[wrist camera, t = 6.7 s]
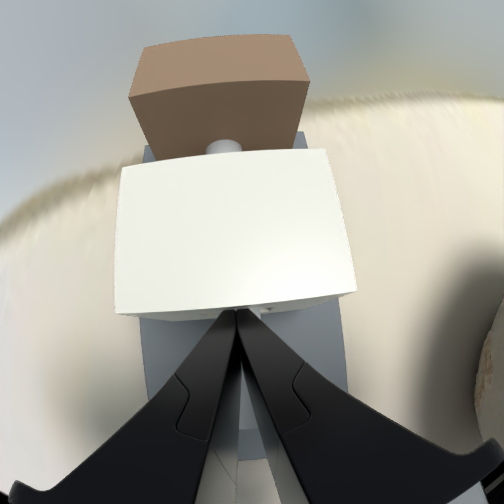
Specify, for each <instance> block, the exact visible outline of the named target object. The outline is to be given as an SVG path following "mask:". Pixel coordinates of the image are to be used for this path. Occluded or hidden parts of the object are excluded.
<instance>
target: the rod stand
mask: <svg viewBox="0 0 504 504" xmlns="http://www.w3.org/2000/svg"><path fill="white" fill-rule="evenodd" d="M309 83H310V80H309V77H308V75H307V73H306V70H305V68H304V66H303V63H302V61H301V59H300V56H299V54H298V52H297V50H296V48H295V45H294V43H293V41H292V39H291V37H290V35H270V34H255V35H254V34H253V35H229V36H215V37H204V38H196V39H189V40H182V41H176V42H170V43H165V44H159V45H154V46H149V47H146V48H144V49H143V52H142V55H141V58H140V61H139V64H138V67H137V70H136V73H135V76H134V79H133V83H132V86H131V89H130V93H129V96H128V98H129V100H130V102H131V105H132V107H133V110H134V112H135V114H136V117H137V119H138V121H139V123H140V126H141V128H142V130H143V132H144V135H145V137H146V139H147V141H148V144H149V145H146V146H145V150H144V158H143V164H144V163H150V162H156V161H162V160H169V159H176V158H183V157H191V156H200V155H209V154H219V153H230V152H243V151H258V150H279V149H308V147H307V143H306V140H305V136H304V132H297V129H298V126H299V122H300V118H301V114H302V110H303V107H304V103H305V99H306V95H307V91H308V87H309ZM251 311H252V312H253V313H254V314H255V315H256V316H257V317H258V318H260V319H261V320H262V321H263V322H264V323H265V324H266V325H267V326H268V327H269V328H270V329H271V330H272V331H273V332H274V333H276V334H277V335H278V336H279V337H280V338H281V339H282V340H283V341H284V342H285V343H286V344H287V345H288V346H290V347H291V348H292V349H293V350H294V351H295V352H296V353H297V354H298V355H299V356H301V357H302V358H303V359H304V360H305V361H306V362H308V363H309V364H310V365H311V366H312V367H313V368H315V369H316V370H317V371H318V372H319V373H321V374H322V375H323V376H324V377H325V378H327V379H328V380H329V381H331V382H332V383H334V384H335V385H337V386H338V387H339V388H341V389H342V390H344V391H345V392H347V393H348V386H347V372H346V361H345V351H344V341H343V332H342V324H341V316H340V308H339V301H338V298H336V299H333V300H330V301H327V302H324V303H321V304H318V305H315V306H312V307H309V308H306V309H299V310H292V311H284V312H275V313H267V314H260V309H251ZM220 313H221V312H219V313H215V316H216V318H217V317H218V316H219V315H220ZM139 318H140V332H141V344H142V354H143V363H144V371H145V379H146V386H147V393H148V400H150V399H151V398H152V397H153V396H154V395H155V394H156V393H157V392H158V391H159V389H160V388H161V387H162V386H163V385H164V384H165V382H166V381H167V380H168V379H169V377H170V376H171V375H172V374H173V373H174V372H175V370H176V369H177V368H178V367H179V365H180V364H181V363H182V362H183V360H184V359H185V358H186V357H187V355H188V354H189V353H190V352H191V350H192V349H193V348H194V346H195V345H196V344H197V343H198V341H199V340H200V339H201V338H202V336H203V335H204V334H205V333H206V331H207V330H208V329H209V327H210V326H211V325H212V324H213V322H214V321H215V320H216V318H215V319H201V320H186V321H166V320H158V319H150V318H142V317H139ZM241 364H242V363H241ZM263 458H267V455H266V452H265V449H264V446H263V442H262V439H261V435H260V432H259V429H258V425H257V422H256V418H255V415H254V411H253V408H252V404H251V400H250V397H249V393H248V389H247V386H246V382H245V378H244V374H243V370H242V381H241V400H240V419H239V439H238V459H237V461H242V460H253V459H263Z"/></svg>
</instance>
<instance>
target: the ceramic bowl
mask: <svg viewBox="0 0 504 504" xmlns="http://www.w3.org/2000/svg"><path fill="white" fill-rule="evenodd" d="M474 396H475V403H474V405H475V410H476V414H477V419H478V425H479V430H480V434H481V437H482V440H483V443H484V442H485V441H487V440H488V439H490V438H495V439H496V440H497V442H498V443H499V444H500V445H501V447H502V448H503V450H504V297H503V299H502V302H501V304H500V306H499V308H498V311H497V313H496V315H495V318H494V321H493V324H492V326H491V329H490V331H489V332H488V334H487V337H486V339H485V342H484V345H483V348H482V351H481V356H480V361H479V367H478V372H477V373H476V385H475V392H474Z"/></svg>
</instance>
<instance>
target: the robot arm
mask: <svg viewBox="0 0 504 504" xmlns="http://www.w3.org/2000/svg"><path fill="white" fill-rule="evenodd" d="M241 363H242V364H241ZM242 370H243V374H244V378H245V382H246V386H247V389H248V393H249V397H250V400H251V404H252V408H253V411H254V415H255V418H256V422H257V425H258V429H259V432H260V435H261V439H262V442H263V446H264V449H265V452H266V455H267V459H268V462H269V465H270V468H271V472H272V475H273V478H274V481H275V484H276V487H277V491H278V494H279V497H280V501H281V504H504V450H503V448H502V447H501V445H500V444H499V443H498V442H497V440H496V439H495V438H490V439H488V440H487V441H485V442H484V443H483V444H481V445H480V446H479V447H477V448H476V449H475V450H473V451H472V452H470V453H468V454H463V455H460V454H454V453H451V452H449V451H447V450H445V449H443V448H441V447H440V446H438V445H436V444H434V443H432V442H430V441H428V440H426V439H424V438H423V437H421V436H419V435H417V434H415V433H414V432H412V431H410V430H408V429H406V428H405V427H403V426H401V425H399V424H398V423H396V422H394V421H393V420H391V419H389V418H388V417H386V416H384V415H382V414H381V413H379V412H377V411H376V410H374V409H373V408H371V407H369V406H368V405H366V404H364V403H363V402H361V401H360V400H358V399H356V398H355V397H353V396H352V395H350V394H349V393H347V392H345V391H344V390H342V389H341V388H339V387H338V386H337V385H335V384H334V383H332V382H331V381H329V380H328V379H327V378H325V377H324V376H323V375H322V374H321V373H319V372H318V371H317V370H316V369H315V368H313V367H312V366H311V365H310V364H309V363H308V362H306V361H305V360H304V359H303V358H302V357H301V356H299V355H298V354H297V353H296V352H295V351H294V350H293V349H292V348H291V347H290V346H288V345H287V344H286V343H285V342H284V341H283V340H282V339H281V338H280V337H279V336H278V335H277V334H276V333H274V332H273V331H272V330H271V329H270V328H269V327H268V326H267V325H266V324H265V323H264V322H263V321H262V320H261V319H260V318H258V317H257V316H256V315H255V314H254V313H253V312H252V311H251V310H250V309H249V308H241V309H237V310H236V311H235V310H234V309H231V310H223V311H222V312H221V313H220V315H219V316H218V317H217V318H216V320H215V321H214V322H213V324H212V325H211V326H210V327H209V329H208V330H207V331H206V333H205V334H204V335H203V336H202V338H201V339H200V340H199V341H198V343H197V344H196V345H195V346H194V348H193V349H192V350H191V352H190V353H189V354H188V355H187V357H186V358H185V359H184V360H183V362H182V363H181V364H180V365H179V367H178V368H177V369H176V370H175V372H174V373H173V374H172V375H171V376H170V377H169V379H168V380H167V381H166V382H165V384H164V385H163V386H162V387H161V388H160V389H159V391H158V392H157V393H156V394H155V395H154V396H153V397H152V398H151V399H150V400H149V401H148V402H147V403H146V404H145V405H144V406H143V407H142V408H141V409H140V410H139V411H138V412H137V413H136V414H135V415H134V416H133V417H132V418H131V419H130V420H129V421H127V422H126V423H125V424H124V425H123V426H122V427H121V428H120V429H119V430H118V431H117V432H116V433H115V434H113V435H112V436H111V437H110V438H109V439H108V440H107V441H106V442H105V443H104V444H102V445H101V446H100V447H99V448H98V449H97V450H96V451H95V452H94V453H92V454H91V455H90V456H89V457H88V458H87V459H86V460H85V461H83V462H82V463H81V464H80V465H79V466H78V467H77V468H75V469H74V470H73V471H72V472H71V473H70V474H69V475H67V476H66V477H65V478H64V479H63V480H62V481H60V482H59V483H58V484H57V485H56V486H54V487H53V488H51V489H50V490H46V491H39V490H36V489H34V488H32V487H30V486H28V485H26V484H24V483H22V482H20V481H18V480H16V481H14V483H13V485H12V488H11V490H10V493H9V495H8V494H6V493H4V492H2V491H0V504H236V480H237V459H238V439H239V419H240V400H241V381H242Z"/></svg>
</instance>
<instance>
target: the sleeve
mask: <svg viewBox="0 0 504 504" xmlns="http://www.w3.org/2000/svg"><path fill="white" fill-rule="evenodd" d="M114 291H115V314H121V315H128V316H135V317H142V318H150V319H158V320H166V321H186V320H201V319H215V318H216V316H215V313H219V312H222V311H223V310H231V309H234V310H235V311H236V310H237V309H241V308H249V309H250V310H251V309H260V314H267V313H275V312H284V311H292V310H299V309H306V308H309V307H312V306H315V305H318V304H321V303H324V302H327V301H330V300H333V299H336V298H339V297H342V296H344V295H347V294H350V293H353V292H356V291H357V286H356V280H355V274H354V268H353V263H352V257H351V252H350V247H349V242H348V237H347V232H346V227H345V223H344V218H343V214H342V210H341V206H340V201H339V197H338V193H337V189H336V185H335V182H334V178H333V174H332V170H331V167H330V163H329V160H328V156H327V153H326V149H279V150H258V151H243V152H230V153H219V154H209V155H200V156H191V157H183V158H176V159H169V160H162V161H156V162H150V163H144V164H138V165H132V166H127V167H122V173H121V180H120V188H119V198H118V208H117V220H116V236H115V264H114Z"/></svg>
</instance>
